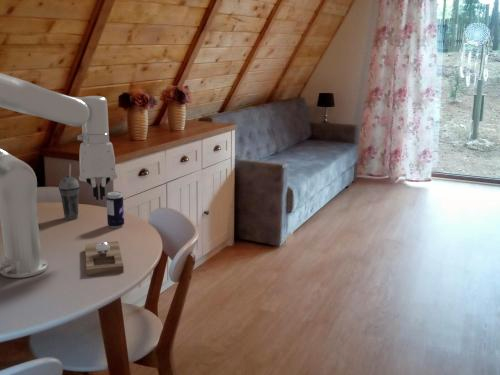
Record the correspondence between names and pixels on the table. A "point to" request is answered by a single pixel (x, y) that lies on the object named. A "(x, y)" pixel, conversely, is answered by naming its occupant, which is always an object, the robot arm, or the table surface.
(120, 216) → the beverage can
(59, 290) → the table surface
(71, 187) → the beverage cup
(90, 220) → the table surface
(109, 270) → the slotted wooden board
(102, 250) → the steel ball
